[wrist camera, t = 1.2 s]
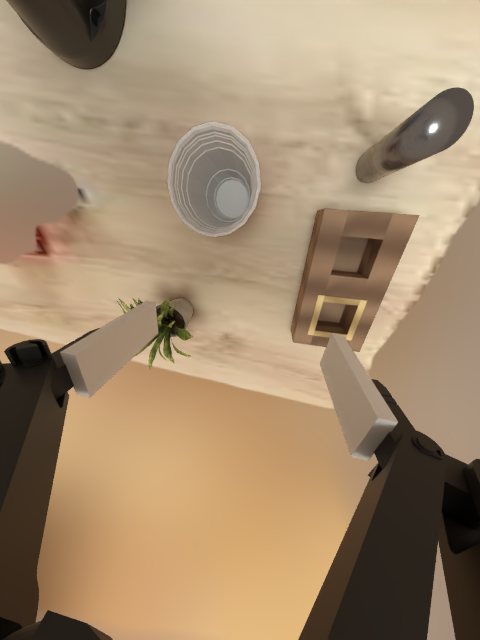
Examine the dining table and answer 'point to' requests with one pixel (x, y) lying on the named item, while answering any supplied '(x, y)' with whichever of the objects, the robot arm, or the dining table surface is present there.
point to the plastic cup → (214, 179)
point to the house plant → (168, 325)
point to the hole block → (348, 273)
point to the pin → (419, 135)
